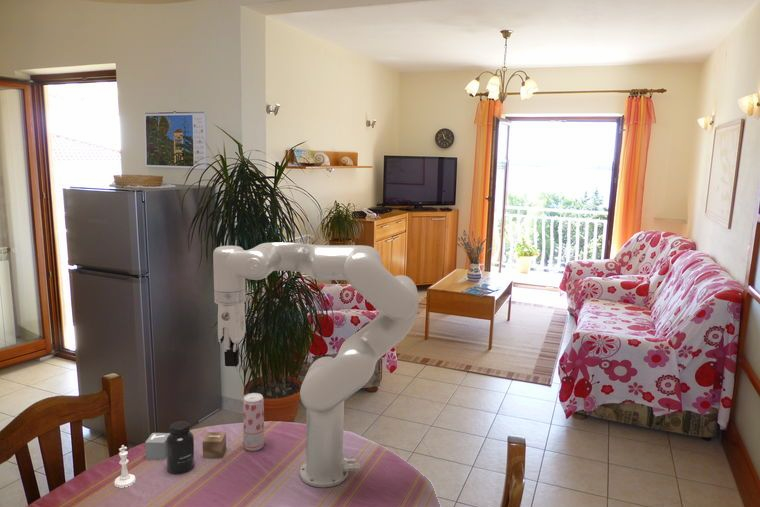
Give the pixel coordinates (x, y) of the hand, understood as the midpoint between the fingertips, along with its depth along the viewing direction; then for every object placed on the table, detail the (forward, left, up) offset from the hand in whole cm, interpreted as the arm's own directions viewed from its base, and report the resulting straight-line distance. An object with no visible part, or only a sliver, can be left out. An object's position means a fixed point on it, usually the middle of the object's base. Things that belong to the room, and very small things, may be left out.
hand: (231, 364), depth 140 cm
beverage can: (-3, -11, -29) cm, 31 cm away
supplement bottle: (+14, 0, -29) cm, 32 cm away
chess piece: (+26, +7, -29) cm, 39 cm away
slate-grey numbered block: (+22, -6, -29) cm, 37 cm away
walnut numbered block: (+7, -7, -29) cm, 31 cm away
